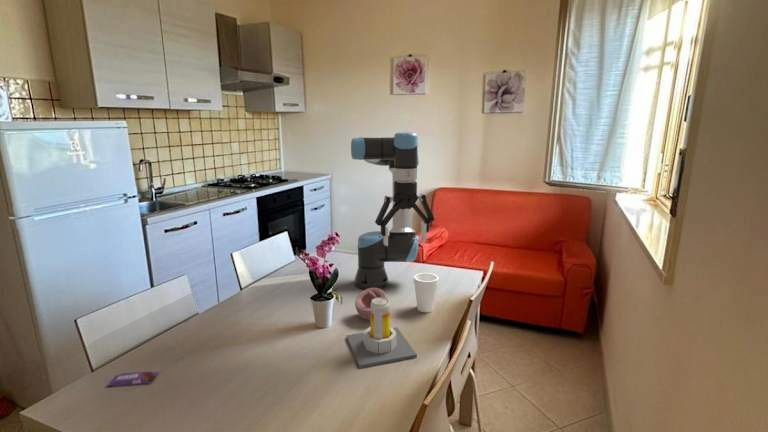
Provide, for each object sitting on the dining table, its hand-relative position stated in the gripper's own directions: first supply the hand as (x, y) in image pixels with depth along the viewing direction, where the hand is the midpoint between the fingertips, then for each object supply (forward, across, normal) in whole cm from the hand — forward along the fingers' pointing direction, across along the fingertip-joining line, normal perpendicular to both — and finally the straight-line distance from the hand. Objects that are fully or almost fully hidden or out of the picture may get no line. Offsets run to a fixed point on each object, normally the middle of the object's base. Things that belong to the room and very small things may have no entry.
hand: (404, 243), depth 136 cm
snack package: (+31, -84, -8) cm, 89 cm away
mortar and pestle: (+31, -10, +8) cm, 33 cm away
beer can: (+29, -12, -12) cm, 34 cm away
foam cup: (+31, +12, +10) cm, 35 cm away
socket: (+30, -12, -12) cm, 35 cm away
